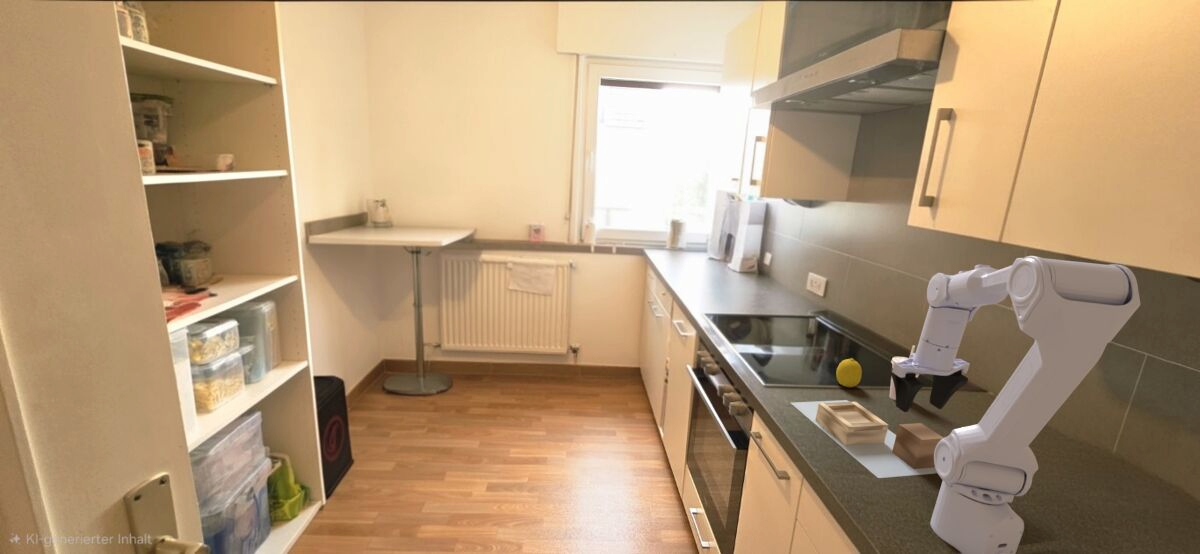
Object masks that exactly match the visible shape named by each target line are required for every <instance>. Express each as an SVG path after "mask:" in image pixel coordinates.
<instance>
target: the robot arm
mask: <svg viewBox="0 0 1200 554" xmlns="http://www.w3.org/2000/svg"><path fill="white" fill-rule="evenodd" d="M1008 295H1009V296H1010V300H1011V303H1012V306H1013V310H1014V314H1015V317H1016V320H1017V324H1018V327H1019V330H1020V331H1022V332H1023V333H1025V335H1027V336H1029V337H1031V338H1032V339H1033V340H1034V343H1032V346H1031V347H1030V348H1029V350H1028V351H1027V353H1026V354H1025V356H1024V357H1023V359H1022V360H1021V361H1020V362H1019V364H1018V365H1017V367H1016V368H1015V370H1014V371H1013V373H1012V375H1011V376H1010V377H1009V378H1008V380H1007V382H1006V383H1005V385H1004V386H1003V387H1002V389H1001V391H1000V392H999V393H998V394H997V396H996V397H995V398H994V400H993V402H992V403H991V405H990V406H989V407H988V408H987V410H986V411H985V413H984V415H983V416H982V417H981V419H980V421H978V423H977V424H972V425H967V426H962V427H958V428H954V429H952V431H951V432H950V433H949V435H948V436H944V437H943V439H941V440H940V442H938V444H937V445H936V448H935V451H934V464H935V468H936V471H937V473H936V474H938V476H939V477H940V479H941V480H942V482H941V486H940V487H939V488H940V489H939V491H938V496H937V499H936V502H935V506H934V509H933V511H932V516H931V519H930V523H929V524H930V527H931V528H932V530H933V532H934V533H935V534H936V535H937V536H938V538H940V539H941V540H943V541H944V542H946V543H947V544H948V545H950V546H952V547H954V548H955V549H956V550H957V551H959V552H958V553H957V552H956V554H1016V553H1017V550H1018V547H1019V544H1020V542H1021V540H1022V537H1023V533H1024V530H1025V522H1024V519H1022V518H1021V517H1020V515H1018V514H1017V513H1016V512H1015V511H1014V510H1013V509H1012V508H1011V506H1010V505H1009V504H1008V503H1010V504H1011V503H1013V500H1014V498H1015V497H1022V496H1024V495H1025V494H1027V492H1028V491H1029V489H1030V488H1031V486H1032V482H1033V479H1034V474H1035V473H1036V472H1037V471H1038V470H1039V465H1038V461H1037V458H1036V456H1035V454H1034V452H1033V450H1032V449H1031V447H1030V444H1031V443H1032V442H1033V441H1034V440H1035V439H1036V437H1037V436H1038V435H1039V433H1040V432H1041V431H1042V429H1043V428H1044V427H1045V426H1046V425H1047V423H1048V422H1050V420H1051V419H1052V418H1053V417H1054V415H1055V414H1056V413H1057V412H1058V410H1059V409H1060V408H1061V407H1062V405H1063V404H1064V403H1065V402H1066V401H1067V399H1069V397H1070V396H1071V395H1072V393H1074V391H1075V390H1076V389H1077V388H1078V387H1079V385H1080V383H1081V382H1083V380H1084V379H1085V377H1086V376H1088V374H1089V372H1090V371H1092V369H1093V368H1094V367H1095V365H1096V364H1097V363H1098V362H1099V360H1100V359H1101V357H1102V356H1103V353H1104V351H1105V349H1106V347H1107V345H1108V344H1109V343H1110V342H1111V341H1113V339H1114V338H1115V337H1116V335H1118V333H1119V332H1120V331H1121V329H1123V328H1124V326H1125V324H1126V323H1127V322H1128V321H1129V320H1130V319H1131V317H1132V316H1133V315H1134V313H1135V312H1136V311H1137V310H1138V309H1139V308H1140V306H1141V305H1142V304H1141V300H1140V293H1139V287H1138V281H1137V278H1136V275H1135V274H1134V272H1133V271H1132V270H1131V269H1130V268H1128V267H1127V266H1125V265H1123V264H1122V265H1121V264H1117V263H1116V264H1115V263H1110V264H1102V263H1095V262H1094V263H1092V262H1085V261H1084V262H1083V261H1072V260H1063V259H1054V258H1045V257H1042V256H1036V255H1028V256H1025V257H1018V258H1016V259H1015V260H1014V262H1013V263H1012V265H1008V266H1006V267H1003V268H1000V269H997V268H994V267H991V265H987V264H976V265H974V269H971V270H959V271H958V273H956V274H953V275H951V274H945V273H943V272H937V273H935V274H934V275H933V276H932V277H931V278H930V280H929V282H928V285H927V289H926V299H927V302H928V304H929V306H928V310H927V313H926V316H925V321H924V323H923V327H922V330H921V333H920V337H919V341H918V344H917V347H916V350H915V352H914V353H911V352H910V354H911V355H910V354H909V357H911V358H909V357H908V358H909V359H907V360H904V361H902V362H897V363H894V366H893V368H892V367H891V368H890V372H889V373H890V374H889V375H891V376H892V379H893V382H894V386H895V393H896V401H895V406H896V408H898V409H899V410H900V411H902V412H903V413H908V412H909V411H910V409H911V407H912V404H913V402H914V399H915V397H916V396H917V394H918V393H919V392H920V390H921V389H922V388H924V387H925V383H923V382H921V381H919V380H918V378H917V377H916V374H919V375H932V385H931V386H932V388H931V392H930V396H929V404H931V405H932V406H934V407H935V408H936V409H939V410H942V409H943V408H944V407H945V405H946V404H947V403H948V401H949V400H950V399H951V398H952V397H953V395H954V394H955V393H956V392H957V391H959V389H961V388H962V387H963V386H965V385H968V381H969V378H968V377H967V376H965V375H963V374H967V373H968V370H969V369H970V366H971V363H969V362H967V361H965V360H964V359H961V358H957V354H958V351H959V348H960V345H961V342H962V340H963V339H962V338H963V336H964V334H965V333H964V332H965V330H966V327H967V324H968V323H969V322H971V321H972V320H973V319H974V316H975V314H976V312H978V310H979V309H980V308H981V307H983V306H989V305H996V304H999V303H1000V302H1003V301H1004V300H1005V299H1006V298H1007V297H1008Z"/></svg>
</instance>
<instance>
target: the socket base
mask: <svg viewBox="0 0 1200 554" xmlns="http://www.w3.org/2000/svg"><path fill="white" fill-rule="evenodd" d="M815 421H817V422H818V423H819V424H820V425H821V426H823V427H824V428H825V429H826V430H827V431H828V432H830V433H831V434H832V435H833V436H834V437H836V438H837V439H838V440H839V441H840V442H841V443H843V444H844V445H845V446H846V445H860V444H875V443H884V441H885V438H886V434H887V430H889V424H888V423H886V422H885V421H884V420H882V419H881V418H880V417H878V416H877V415H876V414H874V413H873V412H871V411H870V410H868V409H867V408H865V407H864V406H862V405H861V403H858V402H857V401H849V402H837V403H819V405H818V410H817V415H816V419H815Z"/></svg>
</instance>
